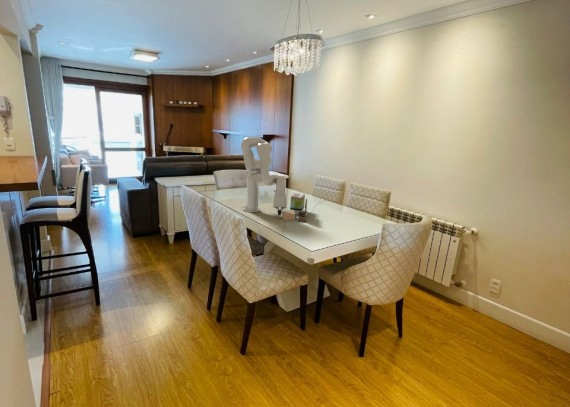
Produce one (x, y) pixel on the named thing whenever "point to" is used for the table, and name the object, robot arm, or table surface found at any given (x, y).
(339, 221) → the table surface
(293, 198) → the tea box
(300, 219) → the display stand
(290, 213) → the carton
